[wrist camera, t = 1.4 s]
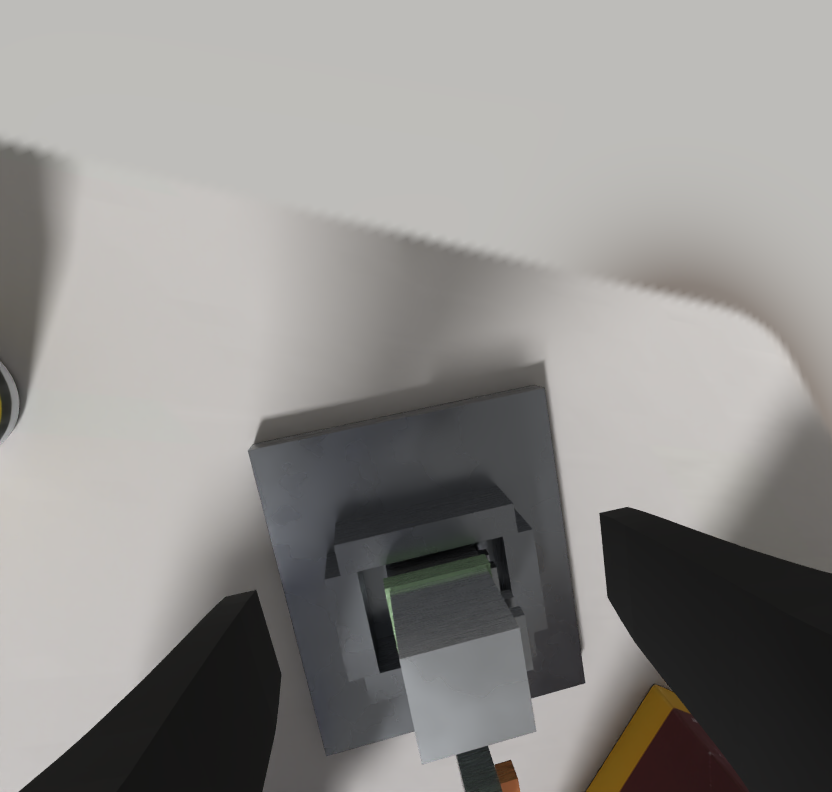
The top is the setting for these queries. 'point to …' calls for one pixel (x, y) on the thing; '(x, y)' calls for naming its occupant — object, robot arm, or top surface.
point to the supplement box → (665, 753)
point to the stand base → (415, 549)
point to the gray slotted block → (460, 651)
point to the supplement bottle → (7, 403)
